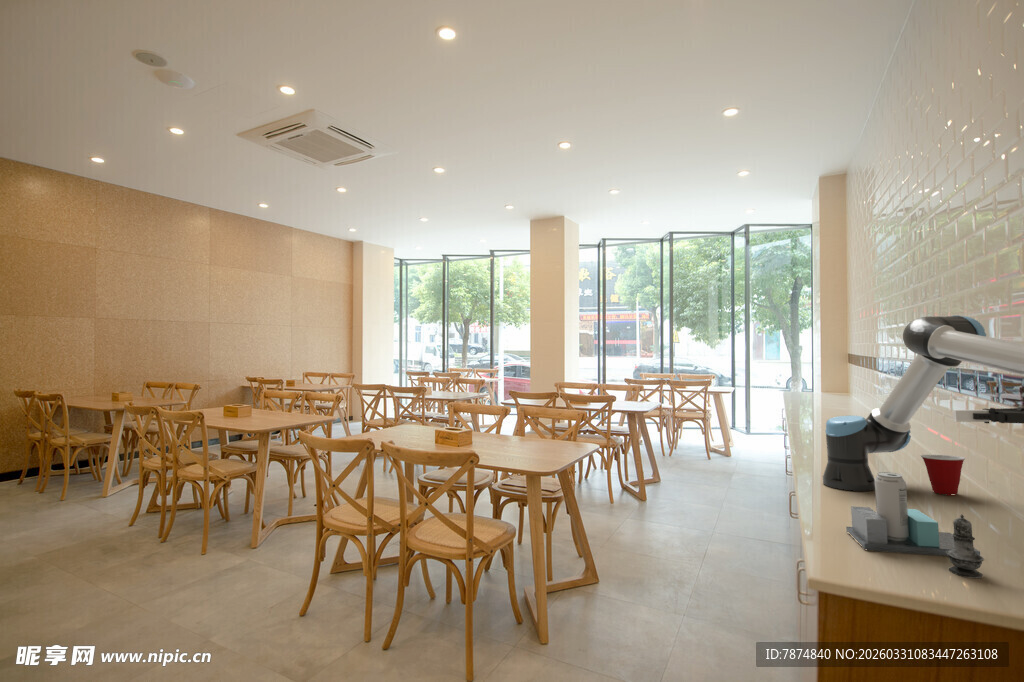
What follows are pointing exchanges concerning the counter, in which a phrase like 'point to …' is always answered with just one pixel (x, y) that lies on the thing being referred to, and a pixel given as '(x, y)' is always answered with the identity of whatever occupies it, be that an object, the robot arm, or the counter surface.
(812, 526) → the counter surface
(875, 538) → the grey base stand
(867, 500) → the counter surface
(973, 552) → the salt shaker
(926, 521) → the sliding jaw
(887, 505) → the energy drink can
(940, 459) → the plastic cup
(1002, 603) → the counter surface
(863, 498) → the counter surface
